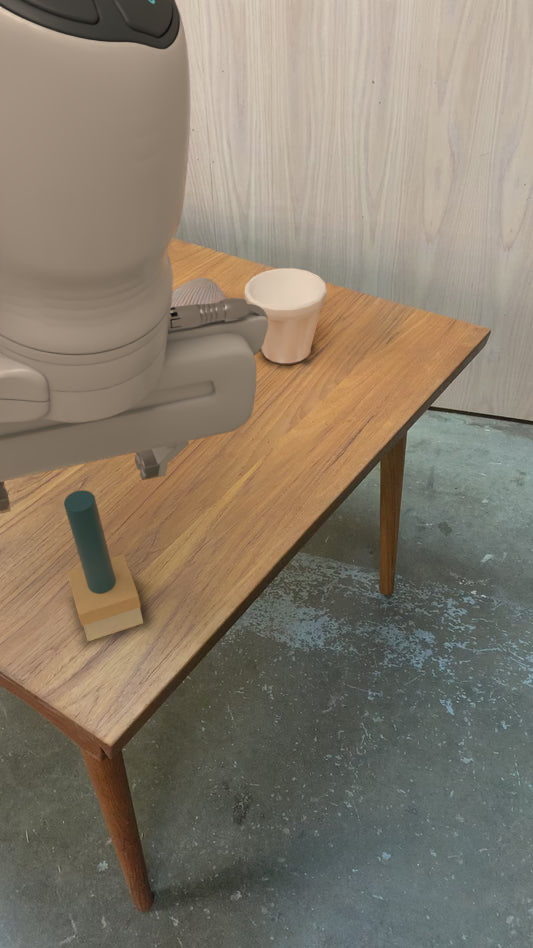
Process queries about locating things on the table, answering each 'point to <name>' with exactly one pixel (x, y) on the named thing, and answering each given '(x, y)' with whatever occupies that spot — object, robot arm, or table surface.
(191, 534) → the table surface
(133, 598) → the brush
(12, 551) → the table surface
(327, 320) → the table surface
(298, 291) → the cup
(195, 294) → the seashell
